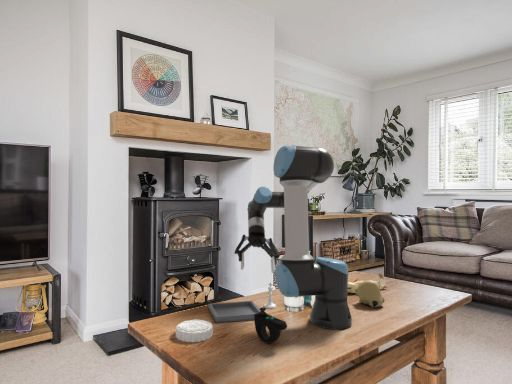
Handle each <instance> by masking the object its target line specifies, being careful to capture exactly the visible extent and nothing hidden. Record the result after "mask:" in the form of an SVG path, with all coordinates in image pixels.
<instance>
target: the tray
mask: <svg viewBox="0 0 512 384" xmlns="http://www.w3.org/2000/svg"><path fill="white" fill-rule="evenodd" d="M259 308H260V307H258V305H256V304H255V303H254V301H253V300H245V301H232V302H231V301H229V302H217V303H216V302H215V303H208V310H209V312H210V314H211V316H212V318H213V320H214V321H215V323H216V324H217V323H218V324H219V323H228V322H229V323H230V322H243V321H252V320H253V321H254V317H255V316H254V314H256V313H259V312H260V311H261V310H259Z"/></svg>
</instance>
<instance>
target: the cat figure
mask: <svg viewBox="0 0 512 384" xmlns="http://www.w3.org/2000/svg"><path fill="white" fill-rule="evenodd" d="M377 275H378V277H379V278H378V279H377V281H376V280H374V281H375V282H376V283H377V285H378V287H379V288H380V289H381V290H383V288H388V287H387V284H386V283H381V281H382V280H383V279H384V275H383V274H382V273H379V274H377ZM363 281H364V280H359V278H357V279H355V280H354V281H353V282H351V281H348V289H347V294H349V293H351V294H357V292H355V289H357V288H358V286H359V284H360V283H361V282H363Z"/></svg>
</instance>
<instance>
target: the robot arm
mask: <svg viewBox="0 0 512 384" xmlns="http://www.w3.org/2000/svg"><path fill="white" fill-rule="evenodd" d="M273 160H274V161H273V174H274V176H275V178H278V179H279V185H281V186H282V187H283V191H272V189H270V188H269V187H267V186H260V187H258V188H257V189H256V191H255V193H254V195H253V198H252V200H251V201H249V202H248V204H247V223H248V224H247V225H248V229H247V231H248V232H247V233H248V236H247V235H246V234H242V236H241V239H240V242H239V243H238V245H237V246H236V248H235V249H234V253H233V254H236V255H237V257H238V262H240V270H244V268H245V252H246V251H247V250H248V249H250V248H251V247H253V248H261V249H262V250H263V251H265V253H266V254H267V255H268V256H269V258H270V267H271V273H272V274H275V275H274V279H275V282H276V285H277V288H278V290H279V292H280V293H281V295H282V296H283V297H286V298H295V299H296V298H299V297H312V296H314V302H313V305H312V307H311V310H310V313H309V323H311V324H312V325H314V326H316V327H319V328H323V329H329V330H343V329H347V328H351V326H352V325H353V324H352V322H353V320H352V319H353V318H352V317H353V316H352V315H351V310H350V306H349V304H348V293H347V289H348V282H349V268H348V264H347V263H346V261H344V260H341V259H337V258H335V259H334V258H330V257H322V256H321V257H320V256H318V257H316V258H315V262H314V257H313V255H311V254H310V239H309V238H310V236H309V235H310V234H309V206H308V205H309V195H308V194H309V192H310V191H311V190H312V189H314V187H315V188H316V186H317V185H318V184H323V183H325V182H326V181H327V180H329V178H330V177H331V176H332V174H333V172H334V169H335V163H334V159H333V157H332V155H331V154H330V153H329V151H327V150H326V149H325V148H322V147H316V146H315V147H312V146H301V145H293V144H292V145H283V146H281V147H279V149H278V150H277V152H276V155H275V157H274V159H273ZM268 208H269V209H270V208H271V209H284V210H283V211H284V217H283V218H284V219H283V220H284V254H283V255H282V256H281V254H280V252H279V251H278V249H277V247H276V246H275V244H274V242H273V239H272V238H271V237H270V238H266V231H265V216H264V215H265V212H266V211H267V209H268ZM246 241H248V243H247V244H246V245H245V246H243V247H242V245H243V244H244V243H245V242H246ZM241 247H242V248H241ZM280 257H281V258H280ZM278 259H280V263H278V262H277V260H278ZM277 263H278V264H277Z"/></svg>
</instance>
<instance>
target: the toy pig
mask: <svg viewBox="0 0 512 384" xmlns="http://www.w3.org/2000/svg"><path fill="white" fill-rule="evenodd" d="M362 281H363V282H361V283H360V284H359V286H358V288H357V289H355V292H357V293H356V294H357V297H358V298H359V300H358V301H359V302H358V303H360V304H365V305H368V306H370V307H371V308H379V307H382V306H383V304H384V303H385V298H384V297H383V296H382V292H381V290H380V289H379V287H378V285H377V283H376V282H375V281H376V280H373V279H366V280H362Z"/></svg>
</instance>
